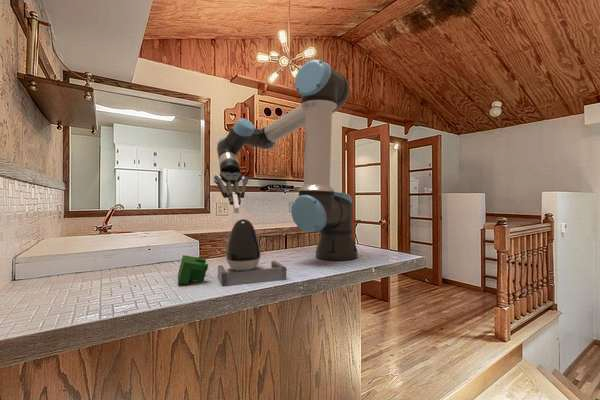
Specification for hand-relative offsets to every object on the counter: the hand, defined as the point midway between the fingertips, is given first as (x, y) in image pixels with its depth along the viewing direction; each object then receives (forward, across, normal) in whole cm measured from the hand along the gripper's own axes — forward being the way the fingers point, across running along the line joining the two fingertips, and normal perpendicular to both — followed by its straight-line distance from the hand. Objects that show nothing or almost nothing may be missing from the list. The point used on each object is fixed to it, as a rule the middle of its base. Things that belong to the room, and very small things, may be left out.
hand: (236, 210), depth 102 cm
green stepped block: (+26, +14, 0) cm, 30 cm away
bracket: (+28, 0, +4) cm, 29 cm away
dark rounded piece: (+21, 0, -4) cm, 21 cm away
